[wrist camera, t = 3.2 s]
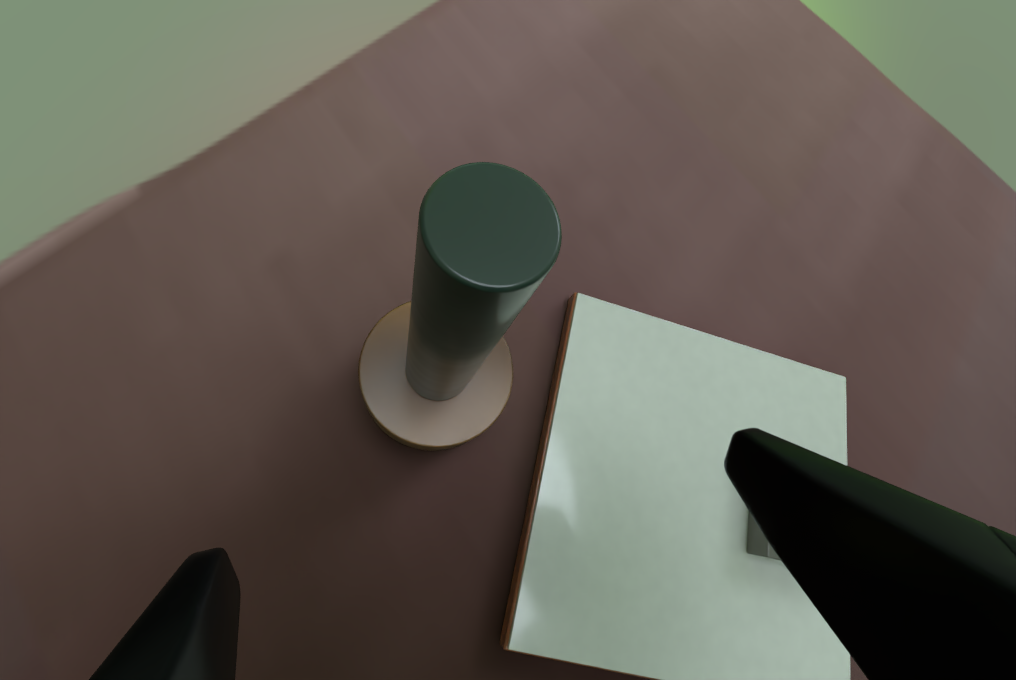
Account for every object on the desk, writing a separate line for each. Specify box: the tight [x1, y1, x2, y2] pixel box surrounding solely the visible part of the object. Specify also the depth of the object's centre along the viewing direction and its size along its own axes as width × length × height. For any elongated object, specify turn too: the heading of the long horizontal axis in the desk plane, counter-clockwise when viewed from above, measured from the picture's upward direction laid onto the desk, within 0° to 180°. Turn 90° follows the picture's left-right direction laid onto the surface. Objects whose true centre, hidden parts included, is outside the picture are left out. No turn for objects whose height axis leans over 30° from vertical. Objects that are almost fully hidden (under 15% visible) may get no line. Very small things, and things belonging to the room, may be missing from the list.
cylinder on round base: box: [358, 162, 562, 451], centre depth 13 cm, size 5×5×13 cm
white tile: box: [500, 293, 850, 680], centre depth 20 cm, size 14×14×1 cm
